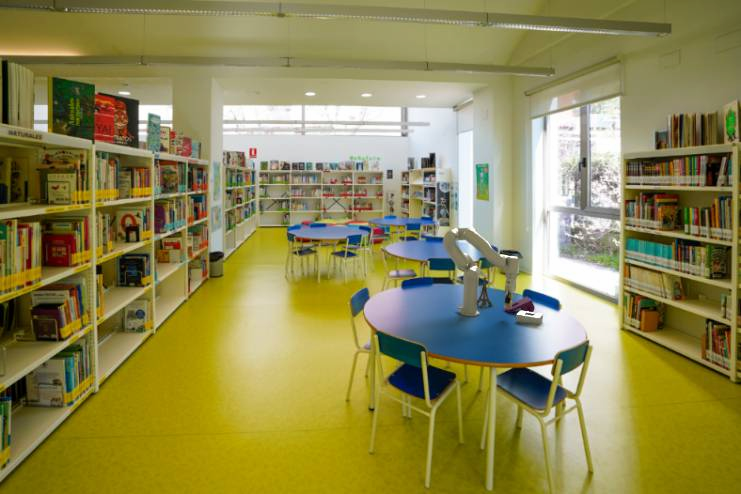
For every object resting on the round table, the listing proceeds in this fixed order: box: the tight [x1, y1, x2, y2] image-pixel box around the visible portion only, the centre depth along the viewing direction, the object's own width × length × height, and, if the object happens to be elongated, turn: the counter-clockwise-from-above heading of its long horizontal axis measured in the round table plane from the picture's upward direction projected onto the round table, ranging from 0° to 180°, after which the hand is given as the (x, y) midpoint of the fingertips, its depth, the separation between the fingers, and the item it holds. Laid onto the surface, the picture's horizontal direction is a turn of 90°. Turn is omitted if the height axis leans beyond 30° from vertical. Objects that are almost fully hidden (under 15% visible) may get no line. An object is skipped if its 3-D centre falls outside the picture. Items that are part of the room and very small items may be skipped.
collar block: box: [515, 310, 544, 326], centre depth 286 cm, size 14×10×5 cm
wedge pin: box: [503, 292, 514, 309], centre depth 292 cm, size 4×4×10 cm
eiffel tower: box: [477, 276, 495, 309], centre depth 321 cm, size 11×11×25 cm
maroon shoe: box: [504, 296, 536, 313], centre depth 309 cm, size 9×8×18 cm
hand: (508, 302), depth 293 cm, fingers closed on wedge pin, 4 cm apart
